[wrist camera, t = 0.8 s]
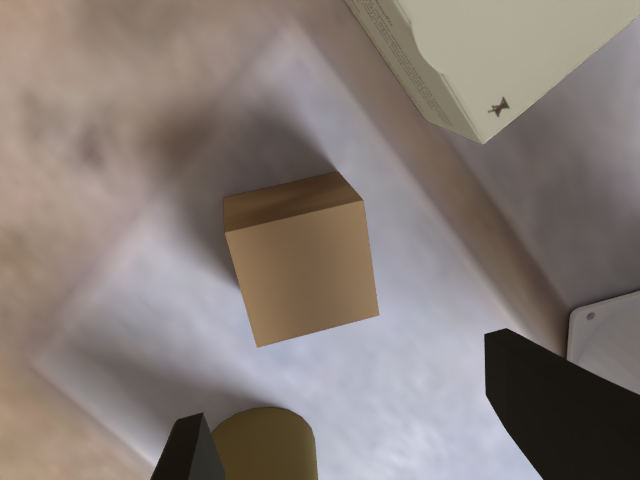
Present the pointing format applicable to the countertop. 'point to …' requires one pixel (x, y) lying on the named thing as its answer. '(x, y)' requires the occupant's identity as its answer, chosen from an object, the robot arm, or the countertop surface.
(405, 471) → the countertop surface
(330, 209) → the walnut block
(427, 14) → the small box
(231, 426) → the cork
